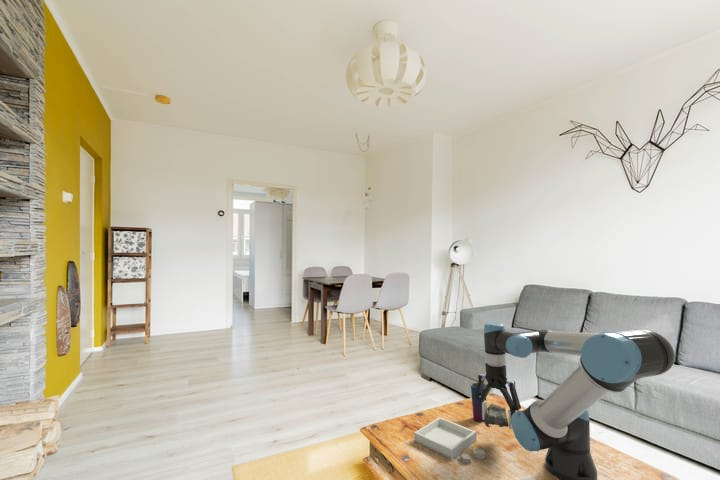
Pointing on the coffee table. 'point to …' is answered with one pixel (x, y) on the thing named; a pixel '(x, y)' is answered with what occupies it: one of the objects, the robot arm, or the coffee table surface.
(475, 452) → the grey small block
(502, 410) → the rock
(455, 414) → the coffee table surface
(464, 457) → the chip
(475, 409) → the cup
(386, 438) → the coffee table surface
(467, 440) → the bin
